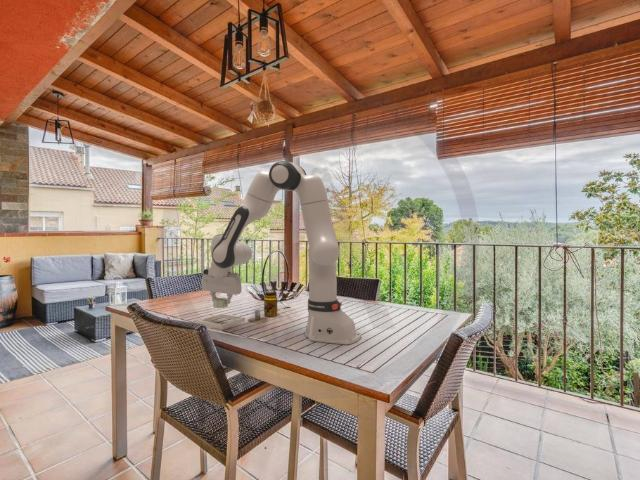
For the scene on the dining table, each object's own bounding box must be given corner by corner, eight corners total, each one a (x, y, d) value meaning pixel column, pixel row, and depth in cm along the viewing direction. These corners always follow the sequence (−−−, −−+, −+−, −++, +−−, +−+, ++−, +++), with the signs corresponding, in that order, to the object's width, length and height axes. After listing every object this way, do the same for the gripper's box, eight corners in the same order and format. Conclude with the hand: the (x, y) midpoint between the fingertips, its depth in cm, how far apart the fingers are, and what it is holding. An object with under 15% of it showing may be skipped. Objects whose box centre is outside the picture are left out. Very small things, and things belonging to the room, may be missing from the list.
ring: (230, 305, 152) (230, 299, 152) (220, 308, 147) (220, 301, 146) (220, 303, 155) (220, 297, 155) (210, 306, 149) (210, 299, 149)
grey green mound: (271, 320, 158) (271, 309, 158) (259, 325, 150) (259, 313, 150) (255, 318, 162) (255, 307, 162) (243, 322, 154) (243, 311, 154)
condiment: (264, 319, 160) (264, 293, 159) (261, 315, 168) (261, 290, 167) (279, 318, 162) (279, 293, 161) (276, 314, 170) (276, 289, 170)
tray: (244, 322, 154) (244, 317, 154) (222, 330, 142) (222, 325, 142) (221, 318, 161) (221, 313, 161) (198, 326, 148) (197, 320, 148)
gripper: (244, 272, 148) (244, 304, 149) (209, 268, 158) (209, 298, 158) (234, 273, 143) (234, 306, 143) (199, 270, 152) (198, 301, 153)
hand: (221, 302), depth 151 cm, fingers closed on ring, 6 cm apart
